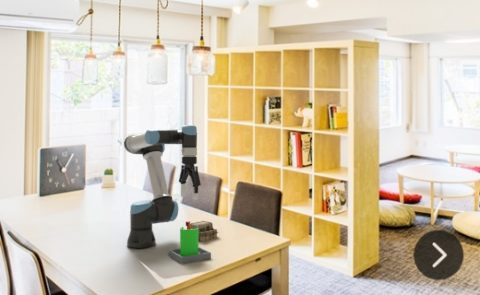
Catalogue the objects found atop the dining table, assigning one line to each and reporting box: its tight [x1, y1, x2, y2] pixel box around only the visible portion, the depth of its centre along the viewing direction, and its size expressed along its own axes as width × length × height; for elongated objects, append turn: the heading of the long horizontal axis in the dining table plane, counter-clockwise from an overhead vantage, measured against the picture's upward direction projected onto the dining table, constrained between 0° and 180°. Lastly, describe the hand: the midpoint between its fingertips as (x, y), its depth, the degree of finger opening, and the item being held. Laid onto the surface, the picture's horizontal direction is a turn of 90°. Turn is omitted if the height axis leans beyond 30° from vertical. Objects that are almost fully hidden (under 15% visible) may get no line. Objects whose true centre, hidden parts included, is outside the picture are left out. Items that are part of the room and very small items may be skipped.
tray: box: [168, 246, 212, 265], centre depth 207 cm, size 16×16×3 cm
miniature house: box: [190, 220, 219, 242], centre depth 235 cm, size 15×14×11 cm
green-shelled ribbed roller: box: [179, 220, 199, 257], centre depth 206 cm, size 9×8×18 cm
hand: (189, 198), depth 207 cm, fingers open, 13 cm apart
